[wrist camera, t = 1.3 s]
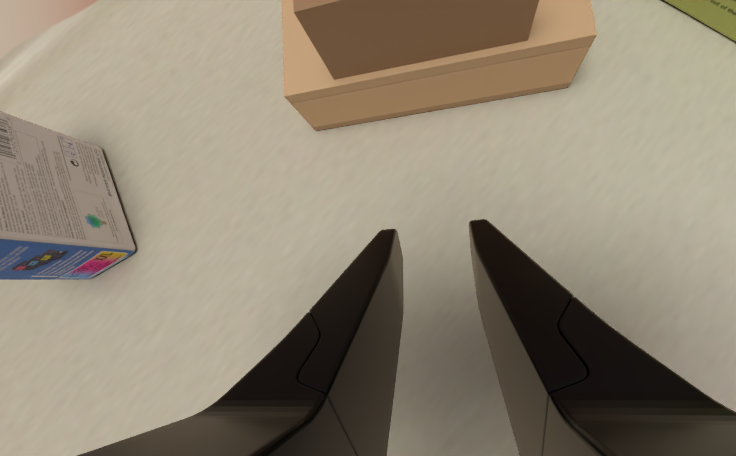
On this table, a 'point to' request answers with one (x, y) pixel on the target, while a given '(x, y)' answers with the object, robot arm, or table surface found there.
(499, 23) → the lid flap
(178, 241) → the table surface
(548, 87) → the carton
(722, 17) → the protein box
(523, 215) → the table surface
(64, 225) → the ink cartridge box
